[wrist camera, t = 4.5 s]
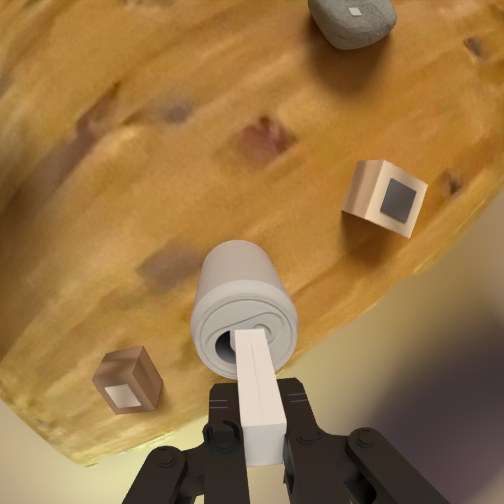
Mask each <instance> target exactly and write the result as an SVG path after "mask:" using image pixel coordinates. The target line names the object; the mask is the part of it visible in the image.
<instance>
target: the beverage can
mask: <svg viewBox="0 0 504 504" xmlns="http://www.w3.org/2000/svg"><path fill="white" fill-rule="evenodd" d="M247 329H264V332H265V336H266V340H267V344H268V348H269V352H270V356H271V360H272V365H273V369H274V372H275V371H277V370H278V369H279V368H281V367H282V366H283V365H284V364H285V363H286V362H287V361H288V360H289V358H290V357H291V355H292V353H293V351H294V349H295V346H296V341H297V333H298V316H297V312H296V309H295V307H294V305H293V303H292V301H291V299H290V297H289V295H288V293H287V291H286V289H285V287H284V286H283V284H282V282H281V280H280V278H279V276H278V274H277V272H276V270H275V268H274V266H273V265H272V263H271V261H270V259H269V257H268V256H267V254H266V253H265V252H264V251H263V250H262V249H261V248H260V247H259V246H257V245H256V244H254V243H251V242H248V241H244V240H231V241H227V242H224V243H221V244H219V245H218V246H216V247H215V248H214V249H213V250H211V251H210V253H209V254H208V255H207V257H206V258H205V260H204V263H203V266H202V270H201V275H200V279H199V284H198V288H197V293H196V298H195V302H194V307H193V312H192V317H191V323H190V332H191V336H192V340H193V343H194V345H195V347H196V349H197V352H198V355H199V357H200V358H201V360H202V361H203V363H204V364H205V365H206V366H207V367H208V368H209V369H211V370H212V371H213V372H215V373H217V374H219V375H221V376H223V377H226V378H229V379H234V380H237V368H236V350H235V332H234V330H247Z"/></svg>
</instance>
